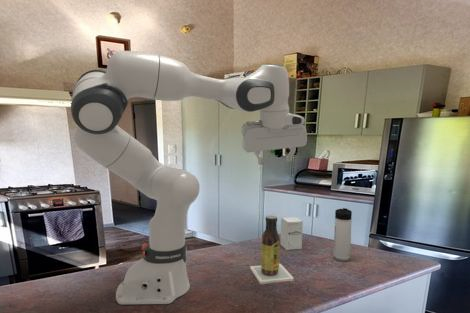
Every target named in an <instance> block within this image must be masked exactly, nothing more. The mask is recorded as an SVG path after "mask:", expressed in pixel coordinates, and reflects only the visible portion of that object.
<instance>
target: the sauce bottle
mask: <svg viewBox="0 0 470 313" xmlns="http://www.w3.org/2000/svg"><path fill="white" fill-rule="evenodd" d="M277 222H278V217H277V216H276V215H266V216H265V230H264V231H263V234H262V235H261V237H262V239H261V240H262V241H261V255H260V258H261V259H260V260H261V261H260V265H261V271H262V272H263V273H264V274H266V275H275V274H277V273H278V269H279V264H280V246H281V245H280V240H281V238H280V237H279V233H278V230H277V225H278V224H277Z"/></svg>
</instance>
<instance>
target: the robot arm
mask: <svg viewBox="0 0 470 313" xmlns="http://www.w3.org/2000/svg"><path fill="white" fill-rule="evenodd" d="M106 66H107V67H106V71H105V70H103V69H91V70H88V71H86V72H84V73H83V74H82V75H81V76H79V78H78V79H77V81H76V84H75V86H74V88H73V91H72V99H71V103H70V113H71V116H72V119H73V121H74V123H75V124H76V126H77V127H76V129H75V132H74V134H73V135H74V136H73V138H74V142H75V145H77V147H78V148H80V149H81V150H82V151H83V153H85V154H86V155H87V156H88V157H89V158H91V159H92V160H93V161H95V162H96V163H97V164H99V165H101V166H102V167H104V168H105V169H107V170H109V171H110V172H112V173H113V174H115V175H116V176H118V177H120V178H121V179H122V180H124V181H126V182H127V183H129V184H130V185H131V186H132V187H134V188H135V189H136V190H138V191H139V192H140V193H142V194H144V195H145V196H146V197H147V198H149V199H153V200H155V201H156V208H155V213H154V215H153V217H152V218H150V220H149V222H148V234H149V236H148V237H149V238H148V239H149V241H148V243H149V244H148V243H146V242H145V243H143V244H142V246H141V251H142V253H141V254H142V255H141V256H142V257H141V258H140V259H139V260H138V261H137V262H135V263H134V264H132V265H131V266H130V267H129V268H128V270H126V273H125V275H124V280H123V281H122V282H120V283H119V285H118V286H117V288H116V291H115V301H116V302H117V303H118V305H168V304H172V303H173V302H174V301H175V300H176V299H177V298H180V297H182V296H183V295H185V294H186V293H188V291H189V290H190V287H191V284H190V280H189V277H188V272H187V260H188V259H187V255H188V253H187V244H186V221H187V220H186V219H187V215H188V212H189V209H190V206H191V205H192V204H193V203H194V202H195V201H196V200H197V198H198V196H199V193H200V190H201V189H200V182H199V179H198V178H197V176H196V175H194V174H192V173H191V172H189V171H187V170H185V169H181V168H177V167H170V166H168V165H165V164H163V163H161V162H160V161H159V160H158V159H157V158H156V156H154V154H153V153H152V151H151V150H150V149H149V148H148V147H147V146H146V145H144V144H143V143H141V142H140V141H139V140H138V139H136V138H135V137H133V136H132V135H131V134H130V133H128V132H126V131H125V130H124V129H123V128H121V126H119V125H118V124H119V123H120V121H121V119H122V118H123V116H124V113H125V111H126V109H127V107H128V105H129V101H128V100H129V99H132V98H143V99H149V100H155V101H163V102H169V101H171V102H175V101H182V100H183V99H185V98H188V97H196V98H198V97H199V98H201V99H202V98H204V99H209V100H213V101H218V102H219V103H221V104H222V105H223V106H225V107H227V108H228V109H231V110H238V111H242V112H246V113H251V112H252V113H253V112H256V111H259V120H253V121H246V123H243V125H242V126H241V134H242V149H243V150H244V151H245V153H253V154H254V155H255V157H256V158H257V164H258V165H260V166H261V165H264V164H265V160H264V158H263V157H261V156H260V155H261V152H264V151H274V150H282V149H283V150H284V149H289V152H288V154H286V155H285V157H286V158H285V160H286V161H287V162H292V161H293V156H294V154H295V153H296V150H297V149H296V148H301V147H305V146H306V145H307V142H308V133H307V128H306V126H305V125H304V124H305V122H306V121H305V120H306V119H305V117H304V116H301V115H299V114H295V113H292V112H290V106H289V97H290V81H289V80H290V79H289V73H288V70H287V68H286V67H285V66H284V65H282V64H276V63H263V64H261V65H260V67H259V68H257V69H256V70H255V71H254V72H252V73H250V74H249V75H247V76H245V77H243V76H241V77H240V76H229V77H225V78H221V79H220V78H214V77H209V76H205V75H200V74H197V73H196V72H193V71H191V70H190V69H189V68H188V66H187V64H185V63H184V62H182V61H180V60H177V59H174V58H172V57H168V56H165V55H162V54H156V53H153V52H147V51H145V52H144V51H139V50H138V51H137V50H136V51H135V50H119V51H116V52H114V53H113V54H112V55H111V56H110V57H109V60H108V62H107V65H106Z"/></svg>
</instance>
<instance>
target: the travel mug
mask: <svg viewBox="0 0 470 313" xmlns="http://www.w3.org/2000/svg"><path fill="white" fill-rule="evenodd" d="M352 213H353V212H352V211H351V210H350V209H349V208H345V207H343V208H337V209H335V212H334V214H335V216H334V234H333V235H334V236H333V238H334V239H333V258H334V260H336V261H338V262H349V261H351V243H352V242H351V241H352V222H353V221H352V217H353V216H352V215H353V214H352Z"/></svg>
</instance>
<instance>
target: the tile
mask: <svg viewBox="0 0 470 313" xmlns="http://www.w3.org/2000/svg"><path fill="white" fill-rule="evenodd" d="M249 270H250V271H251V272H252V275H254V277H255V278H256V281H258V283H259V285H266V284H267V285H268V284H275V283H284V282H293V281H295V278H294V276H292V274H291V273H290V272H289V271H288V270H287V269H286V267H284V266H283V264H282V263H279V269H278V273H277V274H275V275H266V274H264V273H263V272H262V271H261V264H260V265H253V266H252V265H251V266H249Z"/></svg>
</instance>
